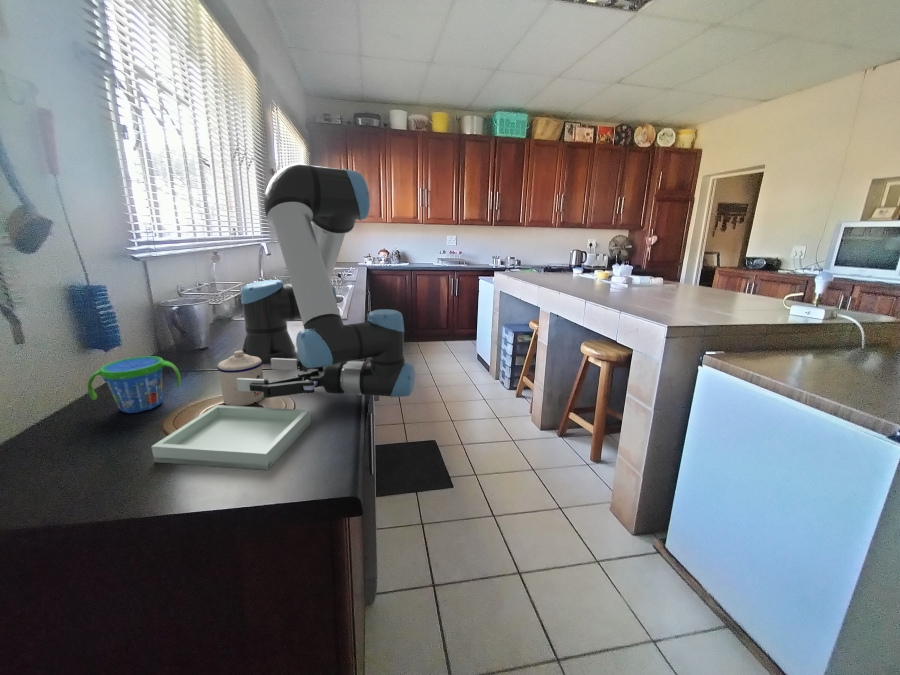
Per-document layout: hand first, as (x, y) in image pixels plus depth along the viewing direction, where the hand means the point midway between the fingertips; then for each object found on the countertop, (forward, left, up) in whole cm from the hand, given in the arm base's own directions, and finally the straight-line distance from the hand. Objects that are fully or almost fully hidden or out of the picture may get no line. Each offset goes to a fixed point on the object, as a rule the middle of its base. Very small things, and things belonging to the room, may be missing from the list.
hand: (256, 373), depth 87 cm
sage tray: (+18, +7, -6) cm, 21 cm away
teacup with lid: (-1, -4, -7) cm, 8 cm away
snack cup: (+7, -23, -7) cm, 25 cm away
